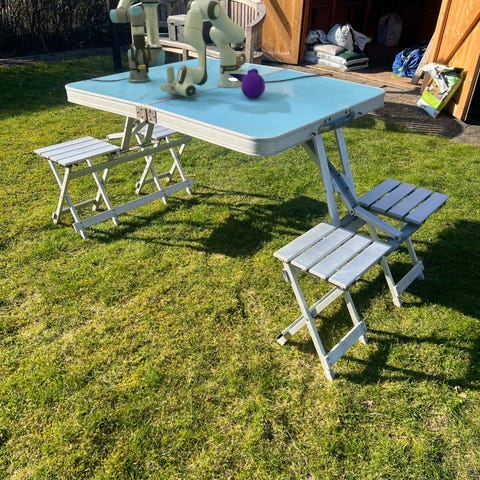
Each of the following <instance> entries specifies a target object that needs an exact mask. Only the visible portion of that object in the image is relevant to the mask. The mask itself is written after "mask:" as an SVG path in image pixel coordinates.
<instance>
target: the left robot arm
mask: <svg viewBox="0 0 480 480" xmlns="http://www.w3.org/2000/svg"><path fill="white" fill-rule="evenodd" d="M160 1H161V0H119V2H118V4H117V7H116V9H110V11H109V17H110V20H111V22H112V23H114V24H123V23H124V24H125V23H130V24H131V33H132V41H133V42H132V43H131V44H129V45H128V46H129V48H130V49H128V50H127V56H128V66H129V76H128V77H126V78H120V79H111V80H107V79H106V80H103V79H102V80H101V79H93V80H92V78H85V79H84V80H83V82H86V81H93V82H94V81H95V82H120V81H125V80H128V82H129V83H133V84H141V83H148V82H150V76H149V73H150V71H149V69H150V67H162V66H163V65H165V61H166V60H165V59H166V51H165V50H166V49H164V48H163V46H162V44H161V42H160V33H159V19H158V10H157V7H158V6H159V2H160ZM139 2H140V3H141V6H139V5H137V6H132V5H133V4H134V3H139ZM142 7H143V8H142ZM144 22H145V27H144ZM145 29H146V34H145ZM146 40H147V42H146ZM138 65H145V66H146V69H138ZM89 131H90V134H92V129H91V128H89Z"/></svg>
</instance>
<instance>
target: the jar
mask: <svg viewBox="0 0 480 480" xmlns="http://www.w3.org/2000/svg"><path fill="white" fill-rule="evenodd" d="M175 75H176V74H175V69H174V66H173V65H169V66H166V77H167V83H169V82H173V81H176V76H175ZM170 95H171V96H173V95H176V94H175V93H174V94H170Z"/></svg>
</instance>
